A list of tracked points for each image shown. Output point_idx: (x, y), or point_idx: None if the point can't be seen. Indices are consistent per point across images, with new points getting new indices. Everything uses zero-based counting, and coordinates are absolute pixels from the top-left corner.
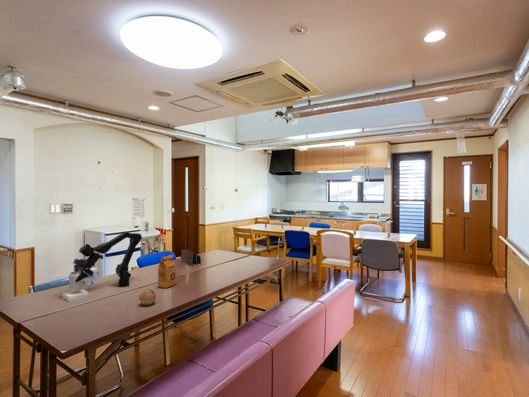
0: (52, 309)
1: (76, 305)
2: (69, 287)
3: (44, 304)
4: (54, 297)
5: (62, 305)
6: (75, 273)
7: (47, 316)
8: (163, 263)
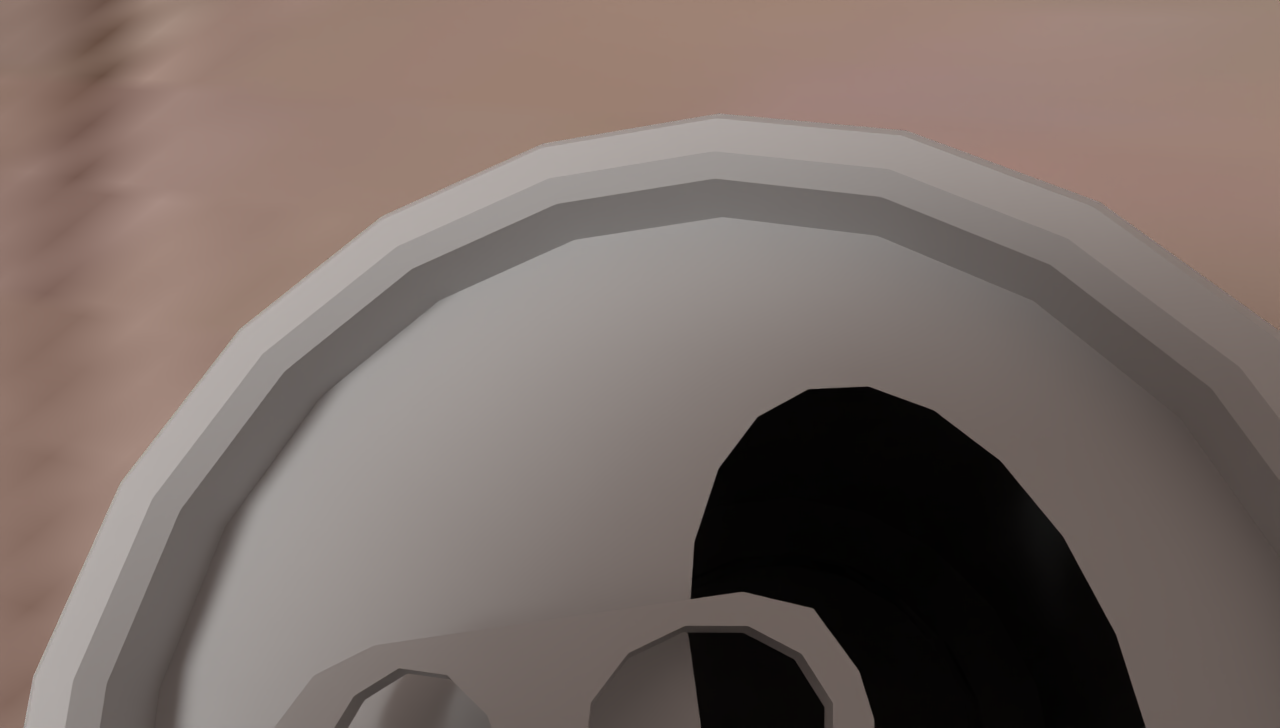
0: (269, 149)
1: (80, 545)
2: (726, 467)
3: (727, 61)
4: (1212, 276)
5: None
6: (561, 701)
7: (8, 65)
8: None
